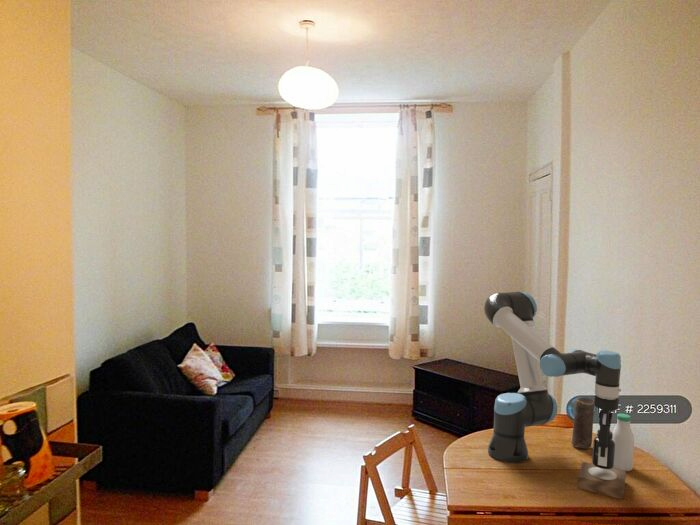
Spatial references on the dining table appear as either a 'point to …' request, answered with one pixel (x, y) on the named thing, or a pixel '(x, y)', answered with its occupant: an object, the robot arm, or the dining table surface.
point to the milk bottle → (623, 443)
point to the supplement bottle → (609, 454)
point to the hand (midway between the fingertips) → (603, 461)
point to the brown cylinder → (583, 423)
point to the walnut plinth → (602, 480)
